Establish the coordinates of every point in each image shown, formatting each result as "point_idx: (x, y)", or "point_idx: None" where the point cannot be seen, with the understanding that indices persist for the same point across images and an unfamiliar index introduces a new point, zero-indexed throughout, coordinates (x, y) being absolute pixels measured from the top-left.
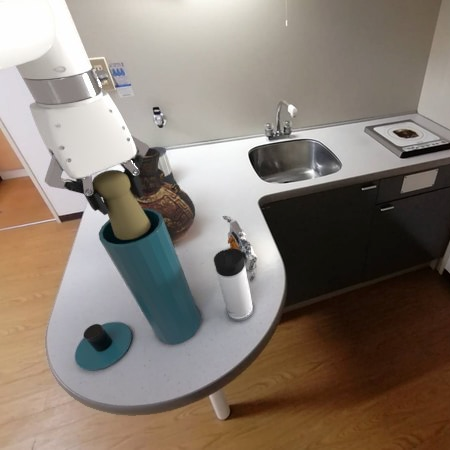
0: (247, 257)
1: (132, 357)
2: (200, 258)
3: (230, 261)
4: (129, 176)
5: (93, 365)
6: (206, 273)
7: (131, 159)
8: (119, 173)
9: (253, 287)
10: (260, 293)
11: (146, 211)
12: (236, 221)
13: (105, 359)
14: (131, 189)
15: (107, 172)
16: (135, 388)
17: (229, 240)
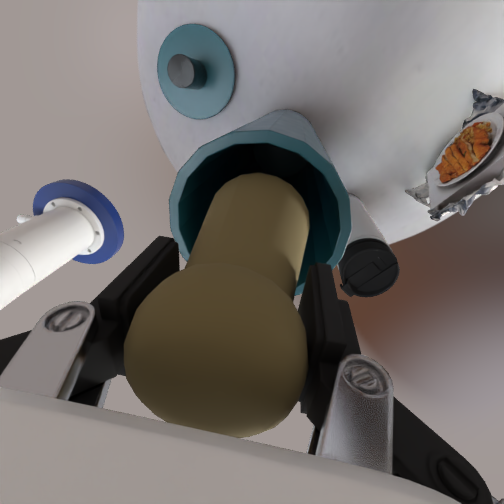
0: (430, 210)
1: (213, 130)
2: (432, 49)
3: (363, 279)
4: (307, 389)
5: (171, 97)
6: (394, 101)
7: (402, 473)
8: (256, 430)
9: (392, 202)
10: (384, 218)
11: (336, 199)
12: None
13: (186, 104)
14: (305, 298)
15: (213, 396)
16: None
17: (476, 141)
